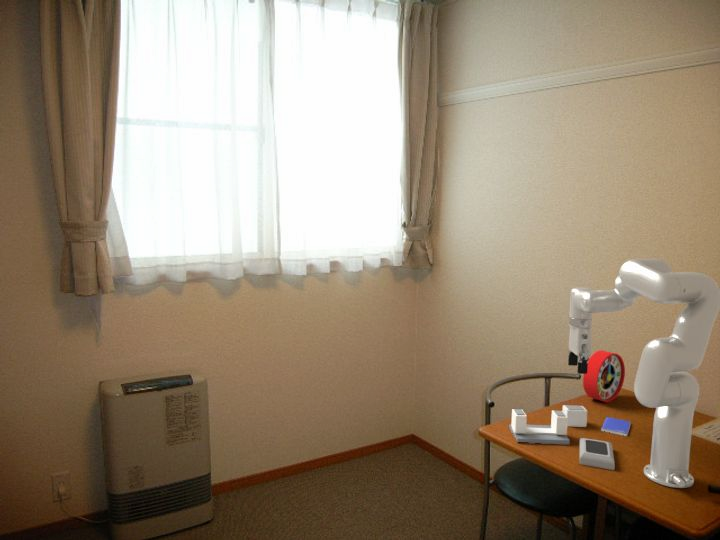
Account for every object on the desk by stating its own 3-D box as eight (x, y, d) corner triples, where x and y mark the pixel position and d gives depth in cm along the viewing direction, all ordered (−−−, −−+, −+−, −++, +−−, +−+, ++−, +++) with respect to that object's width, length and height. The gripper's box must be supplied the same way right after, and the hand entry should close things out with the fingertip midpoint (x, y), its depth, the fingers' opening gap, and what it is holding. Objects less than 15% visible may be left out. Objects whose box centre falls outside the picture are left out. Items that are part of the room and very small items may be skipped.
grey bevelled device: (611, 439, 172) (615, 459, 158) (611, 450, 172) (614, 471, 159) (579, 434, 176) (580, 454, 162) (579, 445, 176) (579, 465, 162)
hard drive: (627, 433, 183) (630, 421, 193) (601, 427, 187) (606, 416, 197) (626, 437, 183) (630, 425, 193) (600, 432, 187) (606, 420, 198)
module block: (586, 427, 190) (587, 410, 190) (566, 426, 191) (567, 409, 190) (581, 421, 195) (582, 405, 195) (561, 420, 196) (562, 404, 195)
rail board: (569, 444, 176) (570, 420, 175) (517, 442, 176) (518, 418, 176) (558, 429, 187) (559, 406, 186) (509, 428, 188) (510, 405, 187)
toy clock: (594, 406, 210) (597, 357, 208) (581, 402, 215) (584, 353, 213) (623, 397, 221) (626, 350, 219) (610, 393, 226) (613, 347, 224)
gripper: (600, 328, 180) (597, 377, 182) (582, 317, 197) (579, 362, 199) (577, 327, 180) (574, 376, 182) (561, 317, 198) (559, 362, 200)
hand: (577, 369), depth 191 cm, fingers open, 9 cm apart
